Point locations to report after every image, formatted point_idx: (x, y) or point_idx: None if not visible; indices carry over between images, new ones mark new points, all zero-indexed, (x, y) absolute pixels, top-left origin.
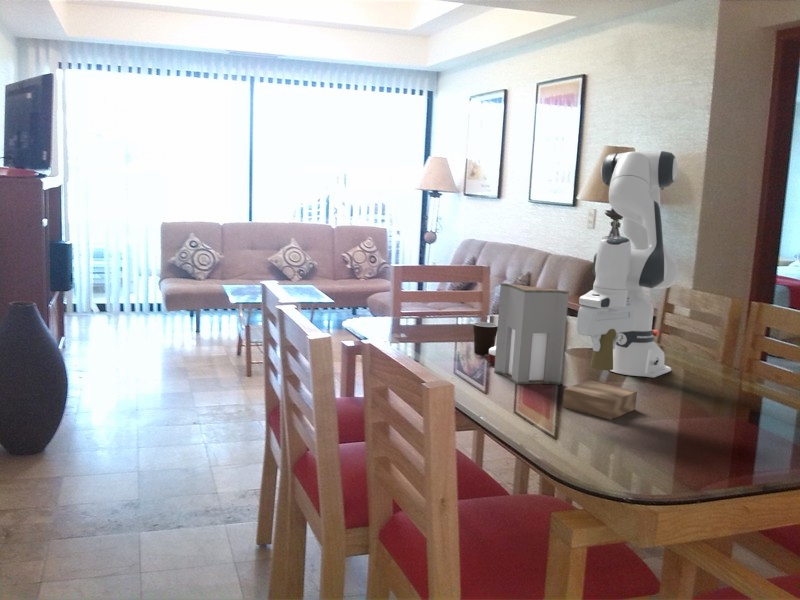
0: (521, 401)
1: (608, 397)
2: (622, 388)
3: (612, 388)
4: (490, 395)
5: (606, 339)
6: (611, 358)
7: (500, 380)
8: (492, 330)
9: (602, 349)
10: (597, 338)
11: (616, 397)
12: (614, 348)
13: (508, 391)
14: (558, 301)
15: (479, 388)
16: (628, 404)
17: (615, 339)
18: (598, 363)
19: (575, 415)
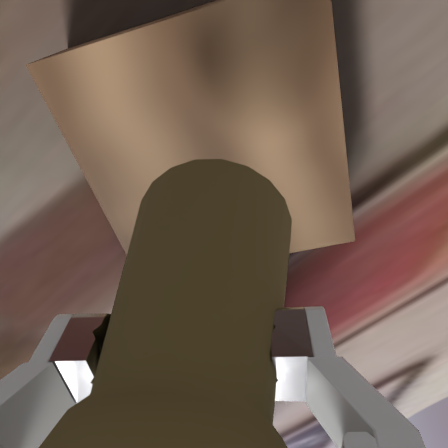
0: (406, 287)
1: (288, 40)
2: (74, 141)
3: (129, 160)
4: (429, 349)
5: (243, 401)
6: (187, 214)
7: (280, 411)
8: None
9: (269, 308)
10: (419, 439)
11: (242, 18)
12: (68, 315)
13: (347, 355)
14: None
15: (394, 391)
16: (127, 30)
17: (17, 401)
18: (285, 230)
19: (393, 99)
